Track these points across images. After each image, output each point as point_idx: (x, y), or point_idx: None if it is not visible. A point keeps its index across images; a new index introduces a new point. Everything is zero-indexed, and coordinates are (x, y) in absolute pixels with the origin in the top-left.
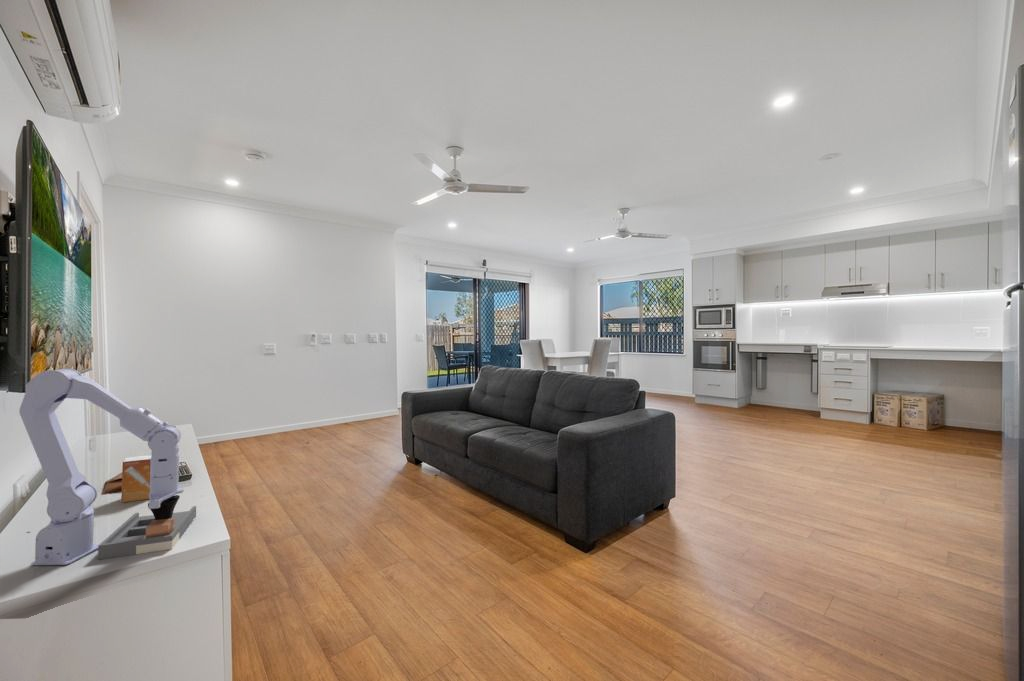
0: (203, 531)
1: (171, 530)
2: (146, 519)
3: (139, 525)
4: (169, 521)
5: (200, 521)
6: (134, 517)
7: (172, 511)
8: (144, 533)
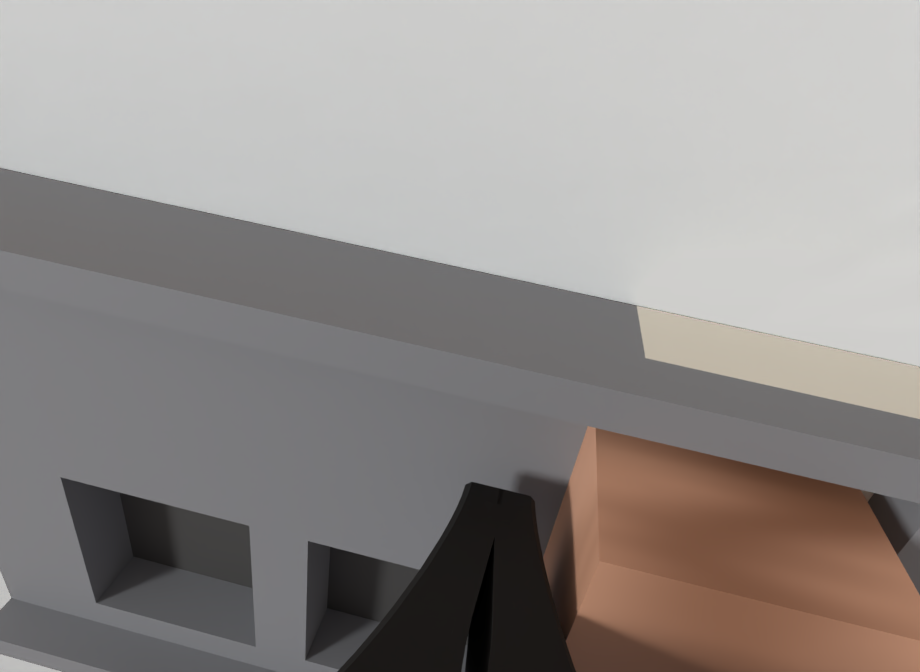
0: (505, 29)
1: (733, 479)
2: (84, 568)
3: (125, 561)
4: (751, 622)
5: (89, 95)
6: (77, 651)
7: (450, 649)
8: (327, 547)
